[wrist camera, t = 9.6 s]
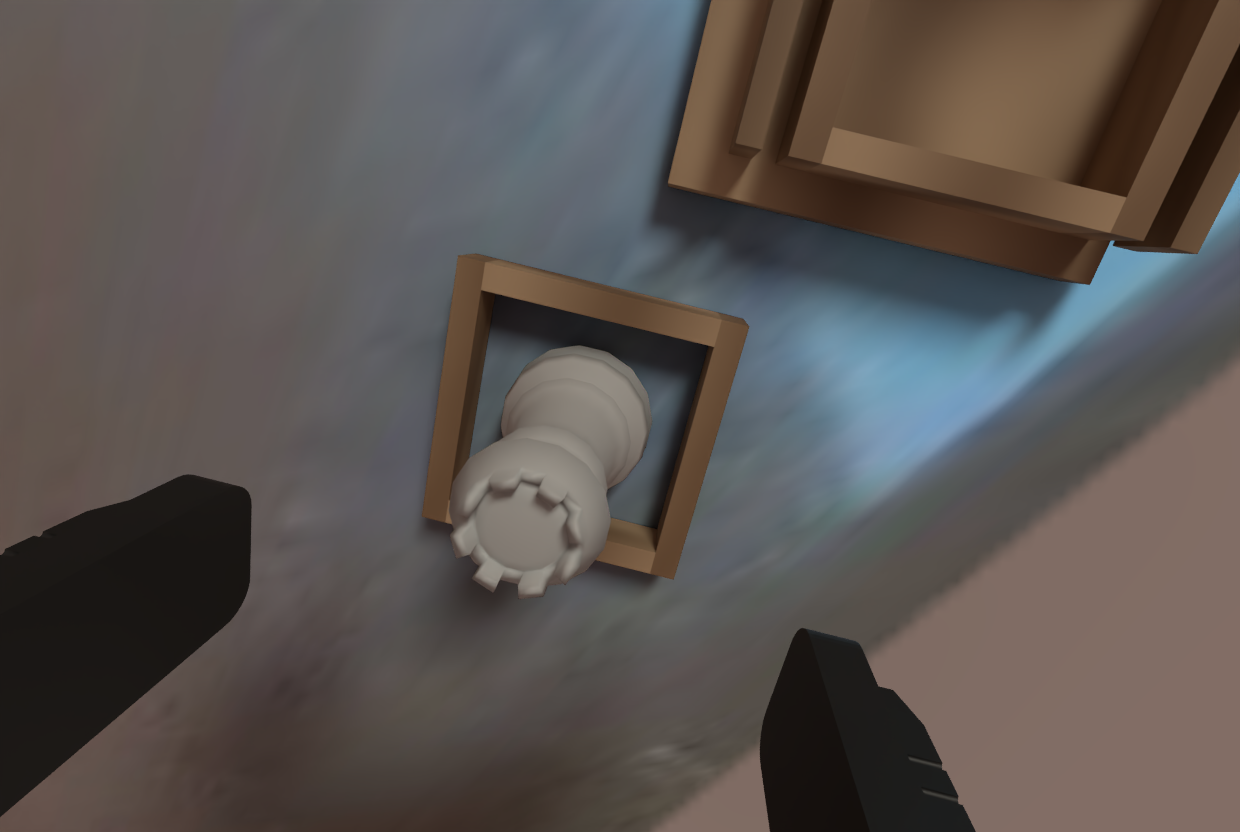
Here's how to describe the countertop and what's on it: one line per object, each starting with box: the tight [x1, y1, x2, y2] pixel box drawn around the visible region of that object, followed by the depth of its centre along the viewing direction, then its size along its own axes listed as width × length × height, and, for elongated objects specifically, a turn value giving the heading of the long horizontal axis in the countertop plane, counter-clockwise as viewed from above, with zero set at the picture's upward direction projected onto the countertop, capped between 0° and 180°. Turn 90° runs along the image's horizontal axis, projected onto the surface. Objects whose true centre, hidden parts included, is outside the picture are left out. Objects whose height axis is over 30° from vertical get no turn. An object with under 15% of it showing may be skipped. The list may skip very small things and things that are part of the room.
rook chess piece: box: [449, 345, 652, 599], centre depth 15 cm, size 4×4×8 cm
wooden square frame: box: [422, 254, 749, 580], centre depth 18 cm, size 8×8×2 cm
